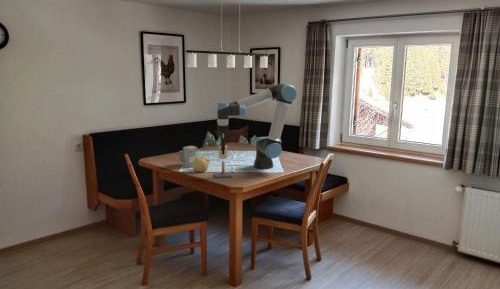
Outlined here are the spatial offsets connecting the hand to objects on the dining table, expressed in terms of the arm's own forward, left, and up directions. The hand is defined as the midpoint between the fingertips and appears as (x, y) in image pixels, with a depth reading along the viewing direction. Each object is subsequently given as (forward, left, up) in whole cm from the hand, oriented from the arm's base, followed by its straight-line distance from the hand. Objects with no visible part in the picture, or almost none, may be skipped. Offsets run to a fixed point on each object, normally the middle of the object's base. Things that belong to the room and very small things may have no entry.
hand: (222, 157), depth 269 cm
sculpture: (+16, -14, -13) cm, 25 cm away
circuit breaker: (+26, -30, -13) cm, 42 cm away
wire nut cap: (0, 0, 0) cm, 0 cm away
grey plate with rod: (0, 0, -13) cm, 13 cm away
